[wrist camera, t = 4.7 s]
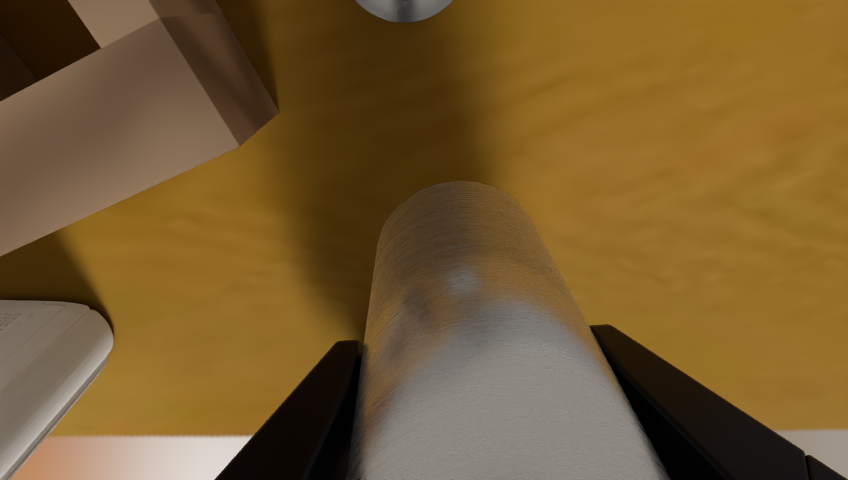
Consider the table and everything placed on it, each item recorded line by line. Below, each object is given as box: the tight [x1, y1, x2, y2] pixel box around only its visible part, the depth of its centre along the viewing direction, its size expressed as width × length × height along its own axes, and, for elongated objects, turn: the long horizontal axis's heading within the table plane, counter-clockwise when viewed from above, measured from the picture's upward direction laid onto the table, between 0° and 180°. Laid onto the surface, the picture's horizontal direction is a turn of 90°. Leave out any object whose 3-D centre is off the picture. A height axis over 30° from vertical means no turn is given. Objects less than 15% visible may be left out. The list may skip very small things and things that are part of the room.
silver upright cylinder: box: [345, 181, 671, 480], centre depth 8 cm, size 4×4×9 cm
